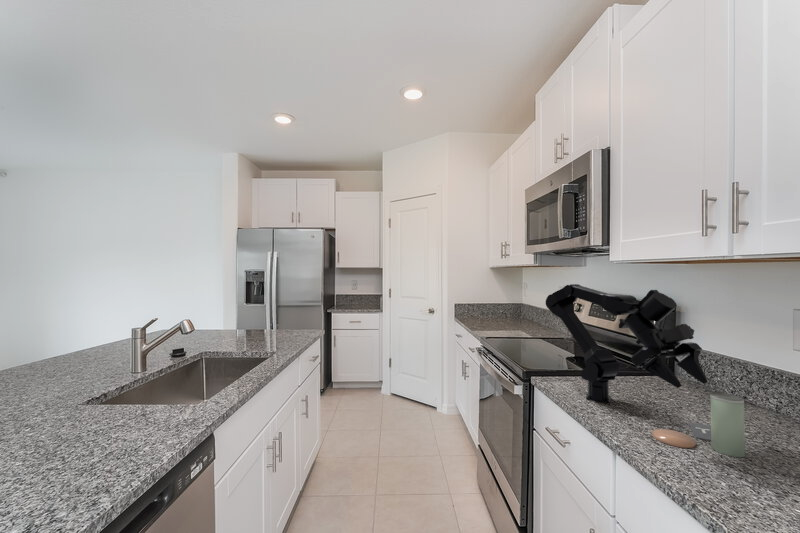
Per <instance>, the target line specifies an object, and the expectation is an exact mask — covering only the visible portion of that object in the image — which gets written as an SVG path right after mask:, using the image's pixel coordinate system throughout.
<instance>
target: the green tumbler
mask: <svg viewBox="0 0 800 533" xmlns="http://www.w3.org/2000/svg"><path fill="white" fill-rule="evenodd" d="M709 397H710V426H711V441H710V443H711V449H713V450H714V451H715V452H718V453H720V454H722V455H726V456H729V457H734V458H745V457H746V440H745V439H746V435H745V431H746V430H745V399H744V398H743V397H741V396H739V395H735V394H731V393H726V392H717V391H716V392H710V393H709Z"/></svg>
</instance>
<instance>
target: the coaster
mask: <svg viewBox="0 0 800 533" xmlns="http://www.w3.org/2000/svg"><path fill="white" fill-rule="evenodd" d="M652 436H653V438H654V439H656V440H657V441H659V442H661V443H663V444H665V445H668V446H672V447H676V448H682V449H690V448H691V449H692V448H695V447H696V446H697V445H696V444H697V442H696V440H695V439H694V437H691V436H690V435H687V434H685V433H683V432H680V431H676V430H672V429H666V428H665V429H664V428H657V429H653V431H652Z"/></svg>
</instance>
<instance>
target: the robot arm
mask: <svg viewBox="0 0 800 533" xmlns="http://www.w3.org/2000/svg"><path fill="white" fill-rule="evenodd" d="M578 299H580V300H583V301H585V302H589V303H592V304H595V305H598V306H600V307H601V308H602V309H603V310H604V311H605V312H608V313H609V314H612V315H614V316H626V317H624V318H619V323H618V329H629V331H630V332H631V333H632V334H633V335H634V336H635V338H636V339H637V340H636V341H635V343H636V344H637V345H639V346H641V345H642V347H641V348H640V349H639V350H637V352H635V353H634V354H633V355H632V356H631V362H632V364H633V365H634V366H635V368H637V369H638V368H641V370H642V371H646V372H649V374H652V375H655V376H656V377H658V378H660V379H661V380H663V381H664V382H667V383H669V384H670V385H672V386H674V387H676V388H679V389H680V388H681V387H682V386H683V385H682V383H681V382H680V379H678V377H677V376H676V375H675V373H674V372H673V371H672V369H671V368H670V367H669V365H668V364H667V358H671V360H673V361H674V362H676V366H678V367H679V368H681V369H682V370H683V371H685V372H686V373H688V374H689V375H690V376H692V377H693V378H694V379H696V380H697V381H698V382H700V383H702V384H706V383H708V381H709V380H708V379H707V377H706V375H705V372H704V371H703V368H702V366H701V364H700V361H699V357H700V355H701V354H702V351H703V348H702V347H701V345H699V344H698V343H696V342H692V341H689V342H682V341H684V340H685V341H686V340H693V339H694V338H695V337H694V335H695V334H694V332H695V329H694V328H692V327H691V326H690V325H688V324H687V323H681V324H679V325H675V326H674V327H671V328H668V329H665V328H662V327H661V328H660V327H658V326H657V325H656V324H655V323H654V322H661V321H663V320H664V318H666V317H667V316H668V315H669V314H670V313H672V312H673V311H674V310H675V309H676V308H678V307H677V306H678V305H677V302H676V301H675V300H674V299H673V298H672V297H670V296H669V295H667V294H664V293H662V292H659V290H658V289H650V290H649V291H648V292H647V293H646V295H645V296H644V297H643V298H642V299H641V300H640V299H637V298H636V297H635V296H633V295H631V294H618V293H607V292H604V291H600V290H596V289H594V288H590V287H587V286H582V285H580V284H576V283H575V284H573V283H571V284H569V283H568V284H566V285H564V286H563V288H560V289H558V290H557V291H554V292H553V293H550V294H548V295H547V297H546V299H545V306H546V308H547V309H548V310H549V311H550V312H551V314H553V315H554V316H556V317H557V318H558V319H560V320H561V321H562V323H563V324H564V326H565V327H566V328H567V330H568V332H569V333H570V335H572V338H573V340H575V342H576V343H577V345H578V346H579V348H580V349H581V351H582V352H583V354H584V355H583V357H584V364H585V367H584V368H583V369H581V370H580V372H579V373H580V376H581V379H582V380H585V381H587V393H586V397H585V400H587V401H593V402H599V403H603V404H611V399H612V398H611V395H610V391H609V390H610V388H609V387H610V385H609V384H610V383H609V381H614V380H615V379H616V376H617V375H618V373H619V371H620V370H619V368H620V365H619V362H618V358H616V357H615V356H614V354H613V352H612V350H611V349H610V348H602V347H600V346H599V345H598V343H597V342H596V341H595V339H594V338H593V337H592V335H591V333H590V332H589V331H588V329H587V327H585V325H584V324H583V322H582V321H581V320H580V318H579V317H578V315H577V314H576V313H575V305H574V303H575V302H576V301H578ZM680 342H682V343H680Z"/></svg>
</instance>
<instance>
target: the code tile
mask: <svg viewBox="0 0 800 533" xmlns="http://www.w3.org/2000/svg"><path fill="white" fill-rule="evenodd" d="M688 425H689V427H690V429H691V431H692V433H693V435H694V438H695V439H697V440H702V441H703V440H704V441H707V442H711V424H710V425H709V424H703V423H698V422H694V421H693V422H692V421H688Z"/></svg>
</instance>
